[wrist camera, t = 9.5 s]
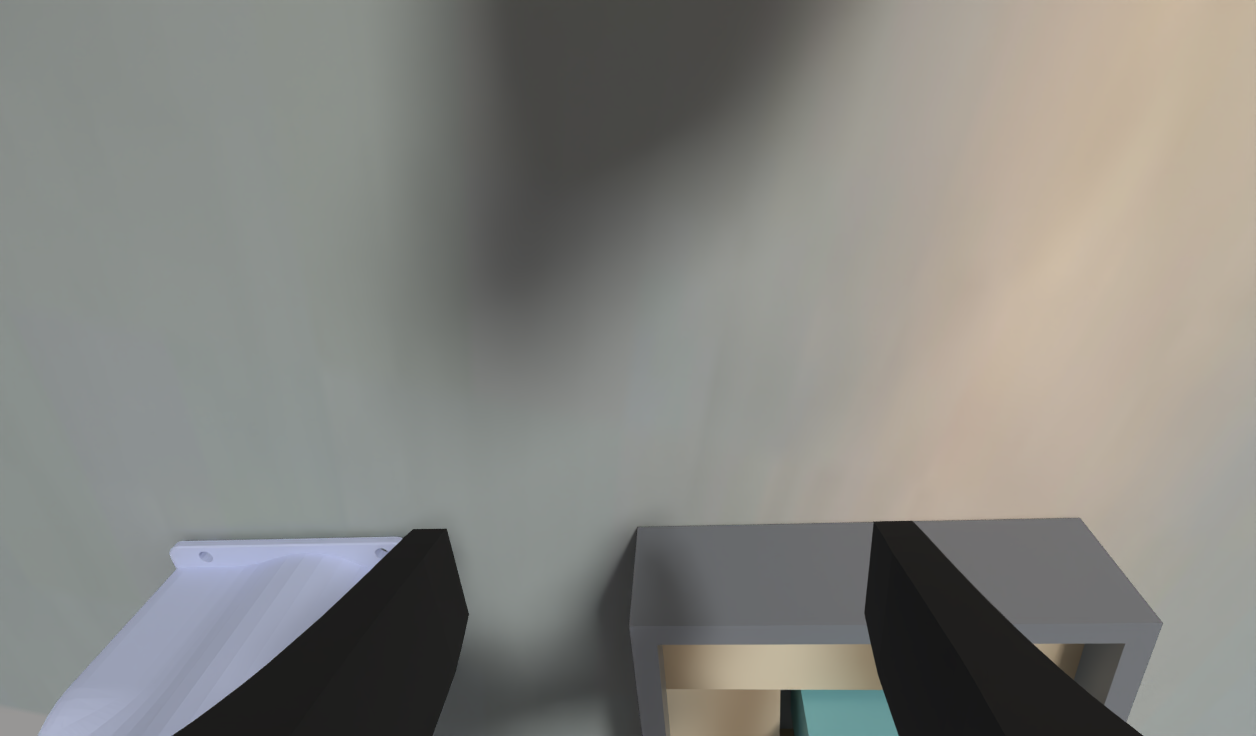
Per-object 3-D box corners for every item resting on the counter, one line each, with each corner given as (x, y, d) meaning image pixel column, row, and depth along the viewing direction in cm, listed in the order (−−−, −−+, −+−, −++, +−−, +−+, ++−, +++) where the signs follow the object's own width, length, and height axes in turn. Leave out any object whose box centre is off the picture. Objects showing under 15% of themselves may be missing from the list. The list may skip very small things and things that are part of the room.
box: (663, 782, 31) (661, 894, 27) (637, 526, 25) (628, 626, 21) (1006, 788, 30) (1056, 907, 26) (1080, 517, 23) (1162, 622, 19)
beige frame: (680, 785, 30) (680, 843, 28) (661, 555, 24) (658, 607, 22) (996, 790, 29) (1021, 852, 27) (1058, 548, 23) (1097, 603, 21)
